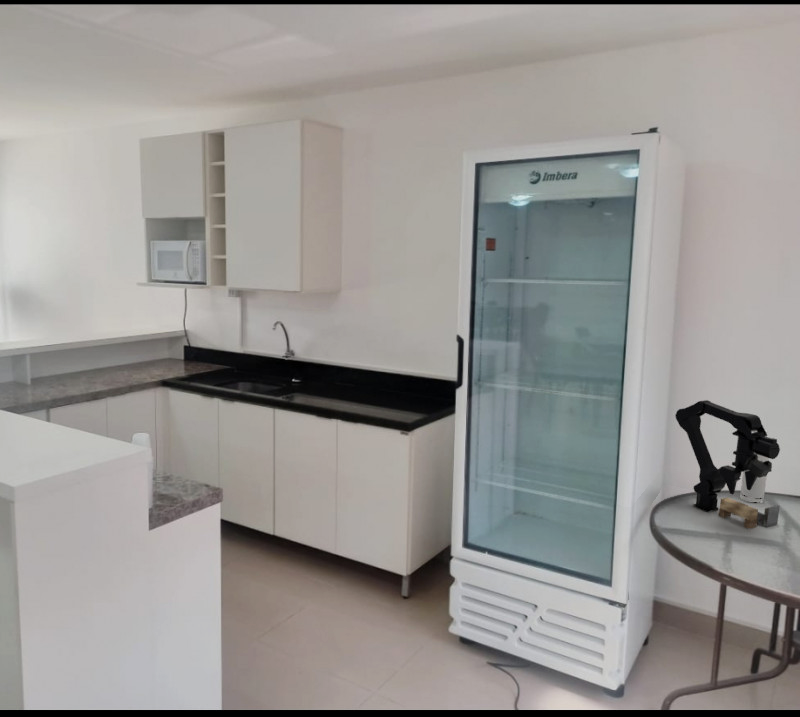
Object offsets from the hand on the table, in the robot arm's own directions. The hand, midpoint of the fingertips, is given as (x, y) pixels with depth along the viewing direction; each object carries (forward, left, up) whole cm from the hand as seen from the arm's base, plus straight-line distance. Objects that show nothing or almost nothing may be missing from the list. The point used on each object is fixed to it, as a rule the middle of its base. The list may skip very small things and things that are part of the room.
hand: (740, 491), depth 228 cm
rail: (0, 0, -8) cm, 8 cm away
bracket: (0, +8, -11) cm, 14 cm away
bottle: (-11, +24, -11) cm, 29 cm away
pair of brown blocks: (0, 0, -11) cm, 11 cm away
